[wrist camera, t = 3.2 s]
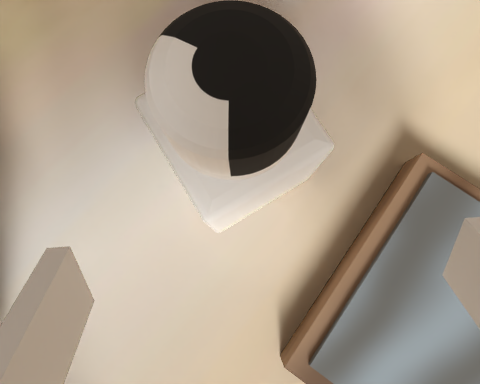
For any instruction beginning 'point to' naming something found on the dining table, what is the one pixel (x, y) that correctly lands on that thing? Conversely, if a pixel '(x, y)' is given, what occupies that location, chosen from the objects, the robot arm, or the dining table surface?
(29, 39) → the dining table surface
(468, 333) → the wooden framed tray
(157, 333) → the dining table surface
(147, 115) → the container
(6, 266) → the dining table surface
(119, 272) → the dining table surface
